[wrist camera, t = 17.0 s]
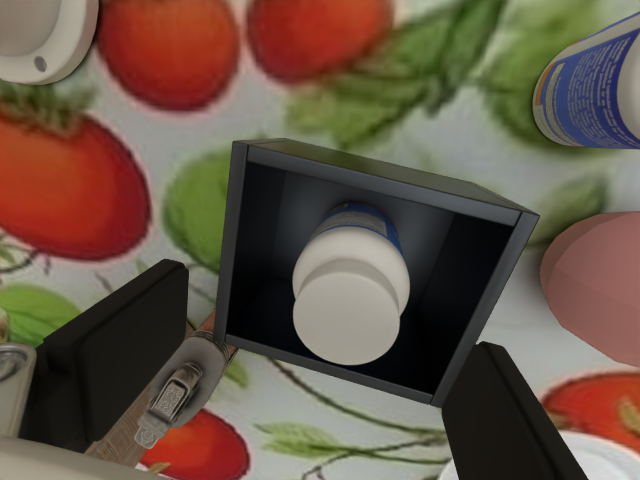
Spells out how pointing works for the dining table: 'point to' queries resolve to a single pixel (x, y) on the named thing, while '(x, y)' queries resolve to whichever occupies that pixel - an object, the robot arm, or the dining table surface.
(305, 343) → the pill bottle
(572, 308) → the pink vase
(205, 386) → the lighter
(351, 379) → the tub
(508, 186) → the dining table surface
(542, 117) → the pill bottle
